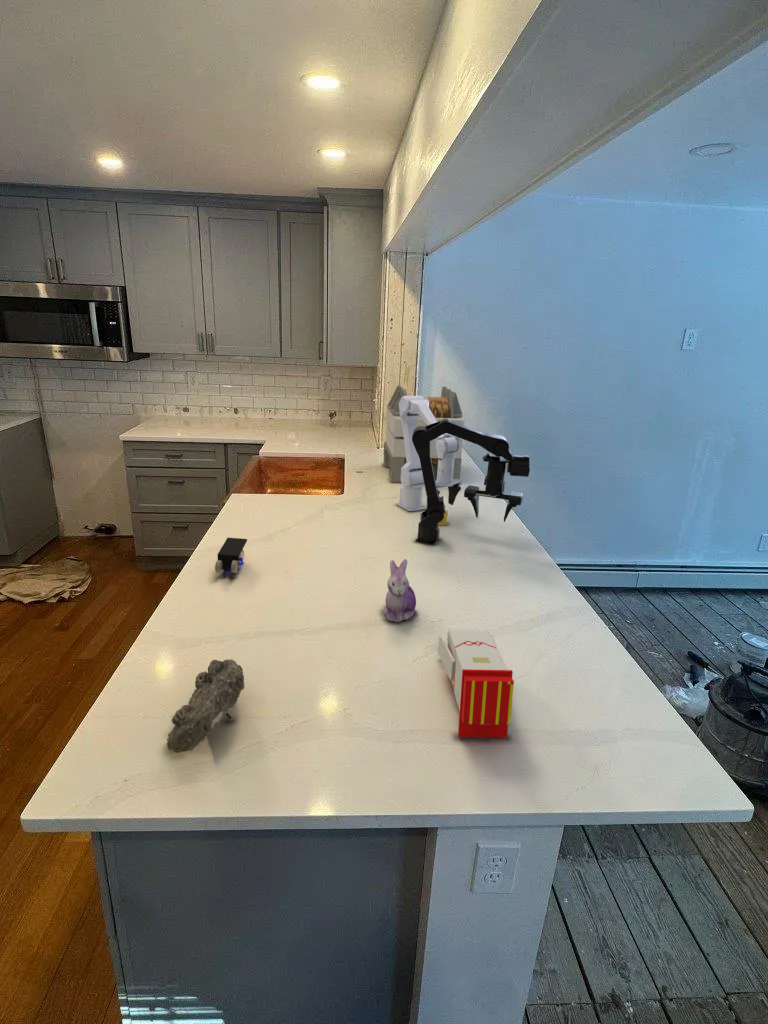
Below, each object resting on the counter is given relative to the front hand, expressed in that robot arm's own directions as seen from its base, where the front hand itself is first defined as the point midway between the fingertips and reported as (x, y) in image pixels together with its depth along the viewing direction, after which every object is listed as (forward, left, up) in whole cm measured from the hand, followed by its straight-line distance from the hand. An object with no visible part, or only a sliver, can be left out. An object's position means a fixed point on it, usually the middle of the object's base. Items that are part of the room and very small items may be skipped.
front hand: (490, 519), depth 191 cm
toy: (+17, -80, -9) cm, 82 cm away
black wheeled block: (-62, -57, -9) cm, 85 cm away
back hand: (-21, +12, -2) cm, 24 cm away
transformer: (-52, +71, -9) cm, 89 cm away
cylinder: (-21, +12, -9) cm, 26 cm away
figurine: (-9, -58, -9) cm, 59 cm away
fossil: (-25, -110, -9) cm, 114 cm away
